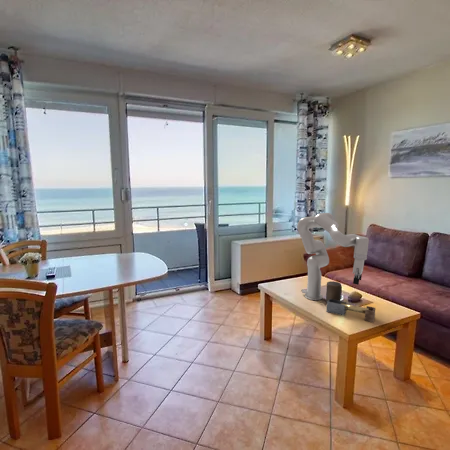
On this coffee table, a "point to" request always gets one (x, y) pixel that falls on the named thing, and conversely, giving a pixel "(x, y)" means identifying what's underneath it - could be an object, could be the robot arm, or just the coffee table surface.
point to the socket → (370, 314)
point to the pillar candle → (333, 290)
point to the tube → (355, 308)
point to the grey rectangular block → (336, 307)
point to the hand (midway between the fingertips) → (357, 281)
